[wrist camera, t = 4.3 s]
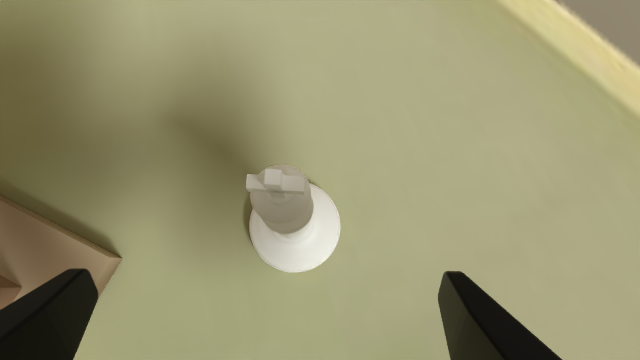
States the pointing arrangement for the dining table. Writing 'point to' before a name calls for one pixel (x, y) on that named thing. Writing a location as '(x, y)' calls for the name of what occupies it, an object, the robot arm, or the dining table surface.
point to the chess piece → (291, 219)
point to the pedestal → (43, 253)
